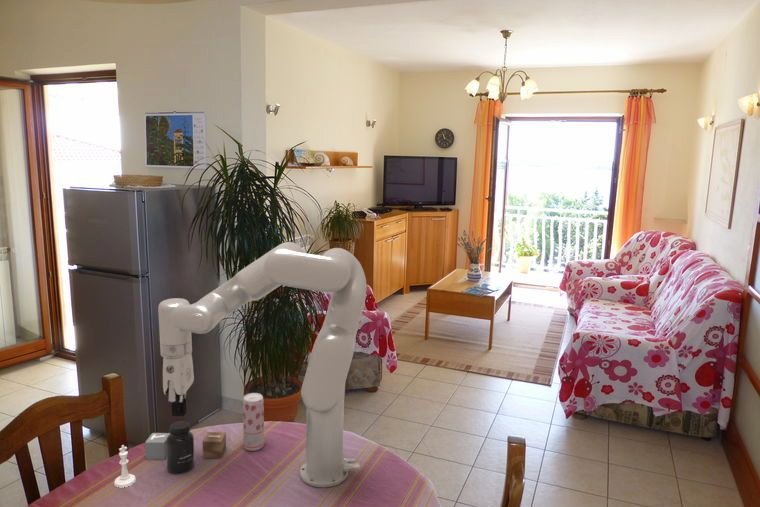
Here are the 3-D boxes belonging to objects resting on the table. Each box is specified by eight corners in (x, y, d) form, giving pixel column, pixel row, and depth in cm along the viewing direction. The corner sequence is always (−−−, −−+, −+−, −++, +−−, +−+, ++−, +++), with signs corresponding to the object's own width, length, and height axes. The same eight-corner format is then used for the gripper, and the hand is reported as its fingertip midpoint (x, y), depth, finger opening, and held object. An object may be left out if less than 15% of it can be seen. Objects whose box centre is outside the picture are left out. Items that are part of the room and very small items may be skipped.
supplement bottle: (185, 476, 141) (184, 433, 139) (161, 472, 143) (159, 430, 140) (199, 461, 148) (198, 420, 146) (176, 458, 149) (174, 417, 147)
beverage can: (240, 450, 154) (239, 400, 151) (247, 439, 160) (247, 391, 157) (260, 452, 153) (259, 402, 151) (266, 441, 159) (266, 393, 156)
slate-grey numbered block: (171, 449, 153) (170, 432, 152) (164, 459, 149) (163, 442, 148) (153, 449, 153) (152, 432, 152) (146, 459, 148) (145, 441, 147)
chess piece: (111, 480, 138) (109, 444, 137) (132, 474, 142) (130, 438, 140) (117, 490, 135) (115, 453, 133) (138, 483, 138) (136, 446, 136)
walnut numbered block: (226, 448, 155) (225, 431, 154) (221, 458, 150) (221, 441, 149) (208, 448, 155) (207, 431, 154) (203, 458, 150) (202, 440, 149)
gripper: (181, 358, 132) (184, 429, 135) (200, 337, 146) (202, 401, 150) (149, 358, 131) (153, 428, 135) (171, 337, 146) (174, 401, 150)
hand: (179, 414), depth 142 cm, fingers closed
